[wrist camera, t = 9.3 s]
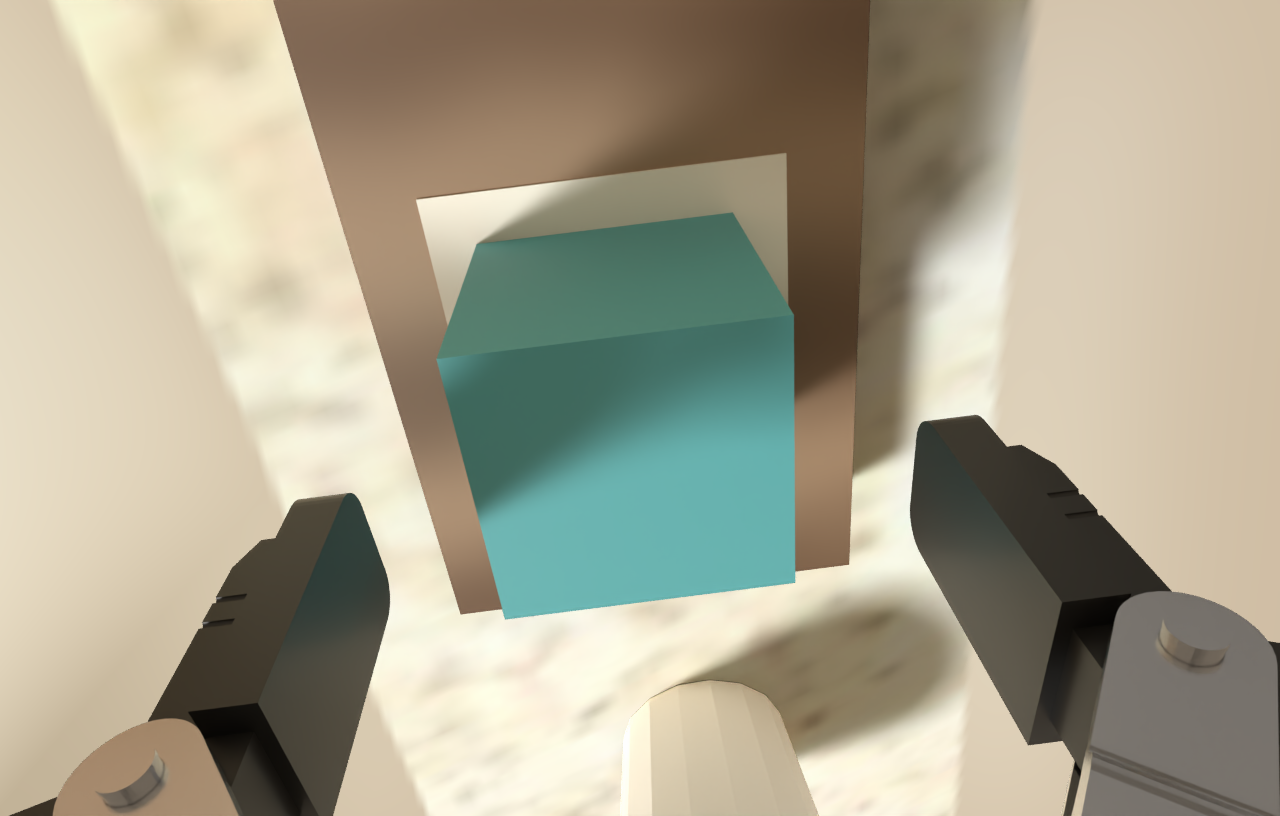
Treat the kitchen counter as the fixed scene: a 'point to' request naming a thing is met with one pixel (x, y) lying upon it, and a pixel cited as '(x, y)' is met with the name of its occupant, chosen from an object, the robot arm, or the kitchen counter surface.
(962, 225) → the kitchen counter surface
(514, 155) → the walnut plinth
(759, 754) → the white tapered cup
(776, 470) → the teal cube
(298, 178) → the kitchen counter surface
